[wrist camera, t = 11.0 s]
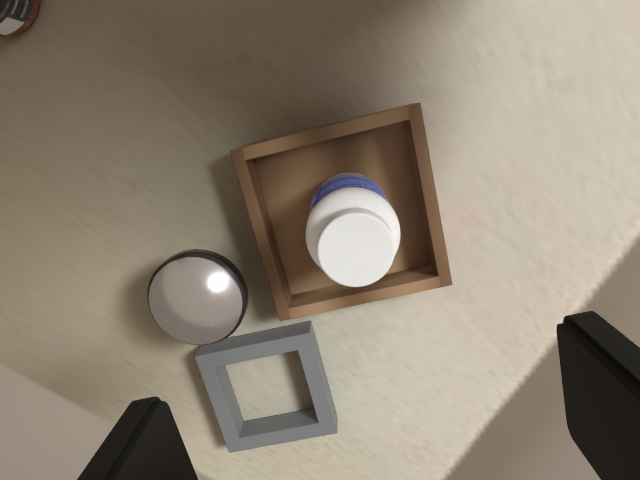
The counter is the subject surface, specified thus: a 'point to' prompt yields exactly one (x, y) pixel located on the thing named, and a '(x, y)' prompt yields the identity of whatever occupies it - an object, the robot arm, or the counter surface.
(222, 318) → the metal mushroom knob
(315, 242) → the pill bottle
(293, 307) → the tray
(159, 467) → the robot arm
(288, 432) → the socket collar
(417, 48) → the counter surface
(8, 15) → the supplement bottle
